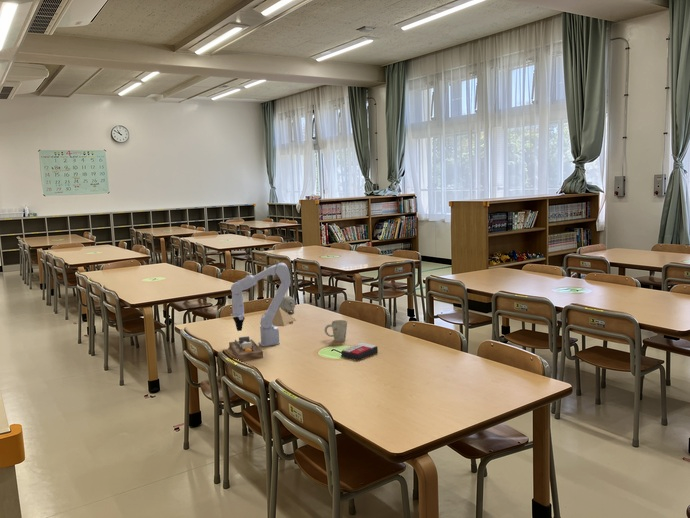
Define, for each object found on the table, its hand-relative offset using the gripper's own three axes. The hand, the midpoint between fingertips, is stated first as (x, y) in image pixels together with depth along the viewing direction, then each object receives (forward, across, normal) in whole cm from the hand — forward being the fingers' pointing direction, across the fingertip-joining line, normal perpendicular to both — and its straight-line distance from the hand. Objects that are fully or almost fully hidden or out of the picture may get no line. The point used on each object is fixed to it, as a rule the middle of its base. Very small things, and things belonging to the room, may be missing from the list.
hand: (239, 330), depth 285 cm
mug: (+9, +14, +49) cm, 52 cm away
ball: (+6, +20, 0) cm, 21 cm away
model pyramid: (+9, -38, +32) cm, 51 cm away
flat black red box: (+9, +43, +50) cm, 67 cm away
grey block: (+5, +15, 0) cm, 16 cm away
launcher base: (+8, +14, 0) cm, 16 cm away
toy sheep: (+8, -61, +44) cm, 76 cm away
